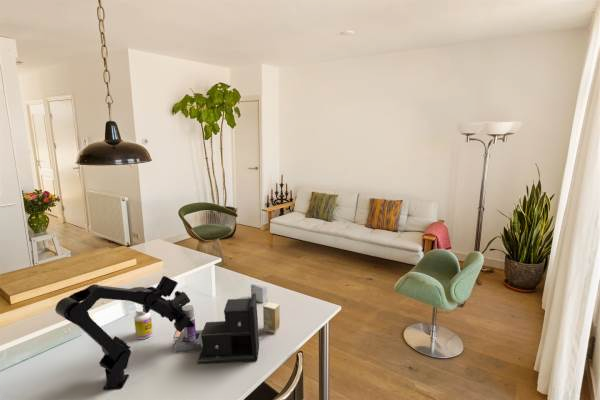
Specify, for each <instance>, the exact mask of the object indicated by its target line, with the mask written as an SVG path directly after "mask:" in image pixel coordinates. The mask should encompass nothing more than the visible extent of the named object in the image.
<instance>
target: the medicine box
mask: <svg viewBox="0 0 600 400" xmlns="http://www.w3.org/2000/svg"><path fill="white" fill-rule="evenodd" d="M250 293H251V294H250V296H252V294H254V293H256V302H258V303H262V304H264V303H266V302H268V300H269V294H268V293H269V292H268V285H267V284H265V283H261V282H258V281H255V282H253V283H252V284H250Z"/></svg>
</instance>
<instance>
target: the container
mask: <svg viewBox="0 0 600 400" xmlns="http://www.w3.org/2000/svg"><path fill="white" fill-rule="evenodd" d="M182 313H187V314H188V315H189V316H190V318H191V319H190V320H191V321H192V322H193V323H194V324H195V326H194V327H185V328H184V339H185V342H197V339H196V331H197V330H196V319H195V317H196V316H195V309H194V306H193V305H190V304H189V305H188V304H186V305H184V306H183V307H182Z"/></svg>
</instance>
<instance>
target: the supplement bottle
mask: <svg viewBox="0 0 600 400" xmlns="http://www.w3.org/2000/svg"><path fill="white" fill-rule="evenodd" d="M135 313H136V314H135V315H134V317H133V320H134V329H135V336H136V339H138V340H146V339H148V338H150V337H152V335H153V333H154V331H153V323H152V314H151V312H150V311H149V312H148V313H145V312H143V307H142V306H139V307H137V308H136V309H135Z"/></svg>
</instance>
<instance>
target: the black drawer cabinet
mask: <svg viewBox="0 0 600 400" xmlns="http://www.w3.org/2000/svg"><path fill="white" fill-rule="evenodd" d="M250 296H251V295H250ZM223 314H224V320H223V321H222V320H221V321H205V324H204V326H203V328H202V330H203V331H202V333H201V338H202V350H201V351H200V353H199V356H198V358H197V361H196V364H197V365H203V364H220V363H221V364H222V363H223V364H224V363H238V362H239V363H240V362H242V363H244V362H256V361H258V358H259V350H260V337H259V334H260V333H259V322H258V321H259V319H258V306H257V301H256V293H254V294H252V296H251V298H249V297H248V298H232V299H231V298H230V299H229V298H228V299H227V301H226V304H225V306H224V310H223Z"/></svg>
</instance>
